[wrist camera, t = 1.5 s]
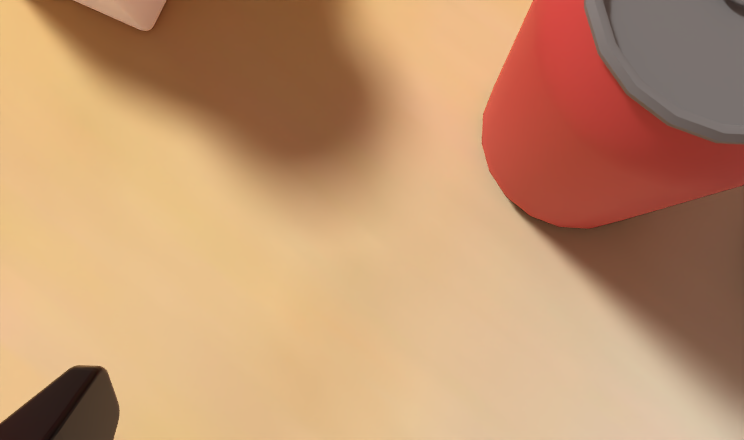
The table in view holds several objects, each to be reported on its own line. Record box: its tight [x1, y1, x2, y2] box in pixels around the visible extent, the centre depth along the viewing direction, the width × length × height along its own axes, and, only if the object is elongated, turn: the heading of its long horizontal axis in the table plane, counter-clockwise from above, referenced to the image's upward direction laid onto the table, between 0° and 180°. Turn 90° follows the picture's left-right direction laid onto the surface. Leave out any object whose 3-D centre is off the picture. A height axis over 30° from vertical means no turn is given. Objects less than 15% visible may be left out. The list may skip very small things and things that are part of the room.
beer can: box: [482, 0, 744, 229], centre depth 17 cm, size 7×7×12 cm
